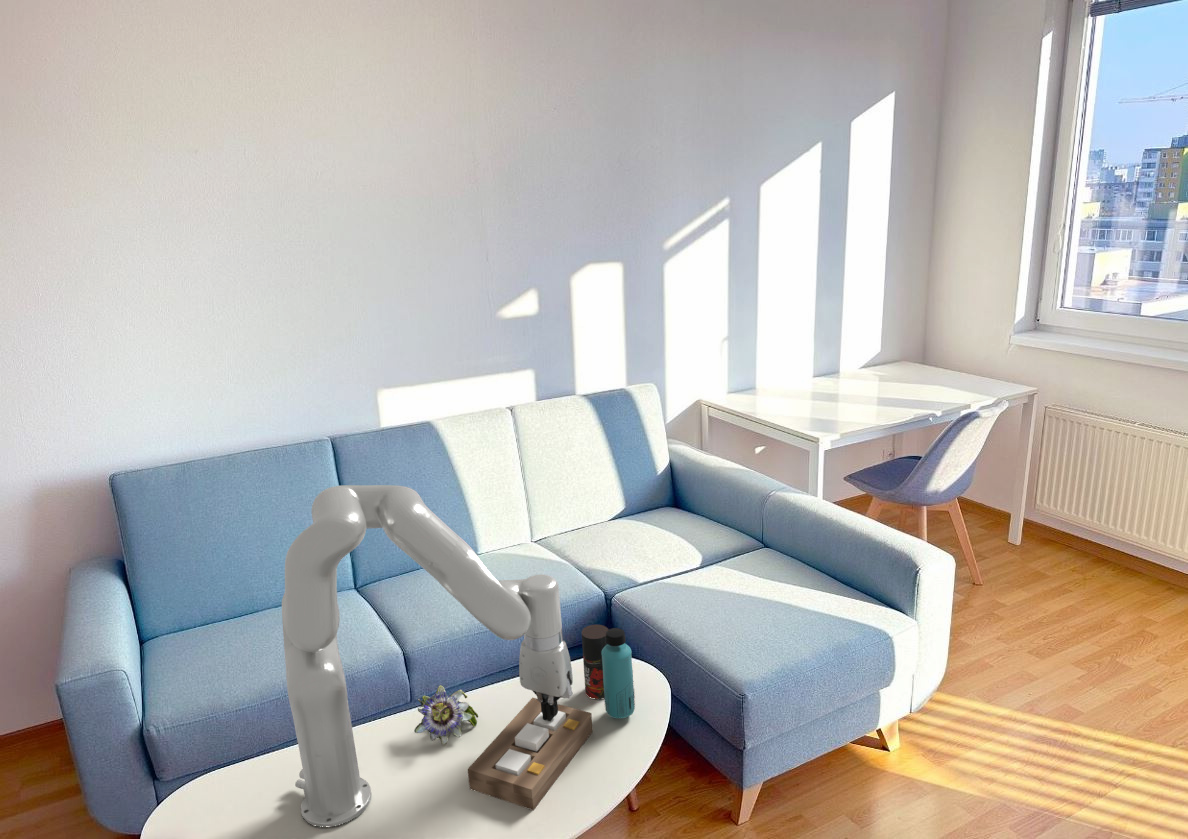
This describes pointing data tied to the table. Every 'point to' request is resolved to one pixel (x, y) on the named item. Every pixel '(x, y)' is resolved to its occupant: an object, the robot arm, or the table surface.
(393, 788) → the table surface
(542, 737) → the key middle
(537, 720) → the key right
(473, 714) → the passion flower
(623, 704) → the beverage bottle
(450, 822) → the table surface
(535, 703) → the keypad
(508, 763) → the key left
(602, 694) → the deodorant
